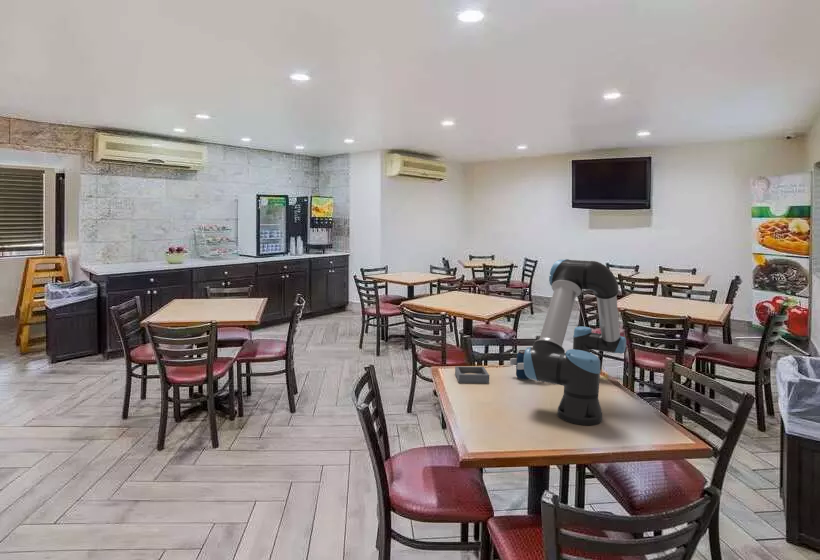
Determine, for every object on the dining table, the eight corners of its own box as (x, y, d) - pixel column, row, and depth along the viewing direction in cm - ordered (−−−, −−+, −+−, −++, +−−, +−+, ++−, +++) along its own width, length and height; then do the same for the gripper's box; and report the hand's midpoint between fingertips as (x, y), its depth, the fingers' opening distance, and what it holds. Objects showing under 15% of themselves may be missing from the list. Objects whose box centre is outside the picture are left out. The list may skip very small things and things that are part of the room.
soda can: (533, 380, 219) (535, 353, 218) (518, 380, 219) (519, 353, 217) (529, 375, 226) (530, 349, 225) (513, 375, 225) (515, 349, 224)
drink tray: (489, 383, 214) (489, 375, 214) (458, 382, 214) (459, 374, 214) (483, 374, 227) (483, 366, 227) (455, 373, 227) (455, 366, 227)
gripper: (572, 376, 216) (523, 379, 211) (549, 364, 236) (504, 366, 230) (573, 359, 216) (524, 361, 210) (550, 348, 235) (505, 350, 230)
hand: (514, 363), depth 220 cm, fingers closed on soda can, 7 cm apart
